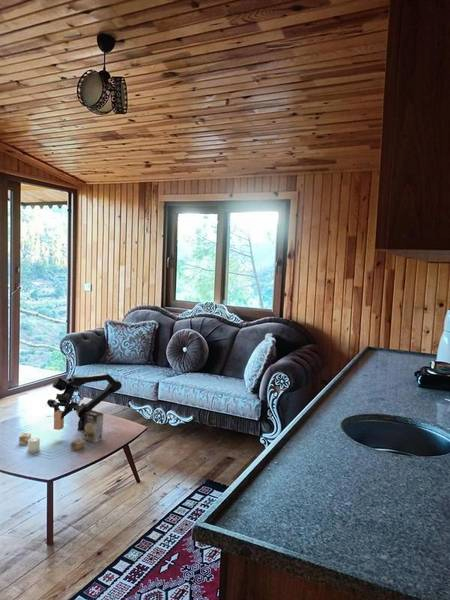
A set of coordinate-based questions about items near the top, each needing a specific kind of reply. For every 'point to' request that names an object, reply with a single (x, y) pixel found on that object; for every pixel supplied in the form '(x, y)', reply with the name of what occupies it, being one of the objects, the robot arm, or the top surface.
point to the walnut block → (77, 445)
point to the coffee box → (93, 426)
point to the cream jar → (33, 445)
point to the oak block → (24, 438)
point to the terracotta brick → (58, 420)
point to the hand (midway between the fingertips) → (57, 418)
